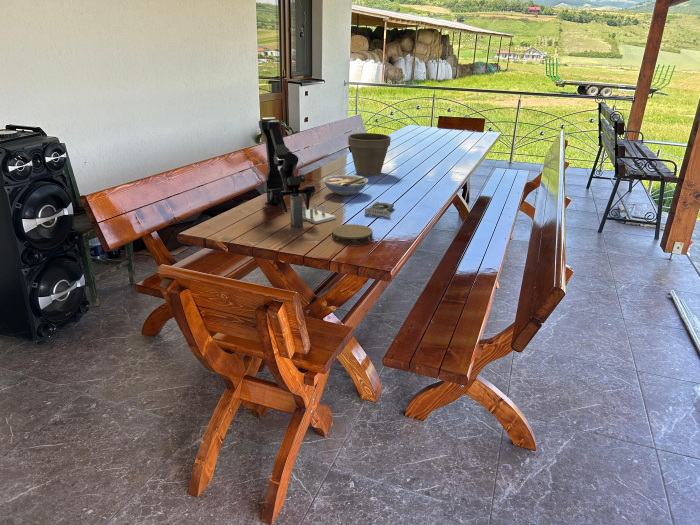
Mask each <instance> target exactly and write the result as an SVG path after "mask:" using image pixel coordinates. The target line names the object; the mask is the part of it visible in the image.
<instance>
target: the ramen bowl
mask: <svg viewBox="0 0 700 525" xmlns="http://www.w3.org/2000/svg"><path fill="white" fill-rule="evenodd" d="M369 177H370V176H367V175H365V176H362V175H356V174H355V175H354V174H335V175H329V176H326V177H323V183H324V185H325V186H326V188H327V189H328V191H329V190H330V191H331V192H333V193H335V194H337V195H339V196H343V195H344V196H347V197H348V196H352V195H354V194H357V193H359V192H361V191H363V190H364V188H365V187H366V185H367V184H368V182H369V179H368V178H369Z"/></svg>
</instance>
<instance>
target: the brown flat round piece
mask: <svg viewBox="0 0 700 525" xmlns="http://www.w3.org/2000/svg"><path fill="white" fill-rule="evenodd" d="M331 238H333V239H334V240H333V239H332V240H333V241H335V242H337V243H340V242H341V243H340V244H344V243H346V245H360V244H359V243H361V244H365V242H366V243H368V242H370V241H372V239H373V228H371V227H369V226H366V225H363V224H354V223H352V224H351V223H350V224H340V225H338V226H335V227H333V228H332V229H331Z"/></svg>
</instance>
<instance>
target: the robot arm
mask: <svg viewBox="0 0 700 525" xmlns="http://www.w3.org/2000/svg"><path fill="white" fill-rule="evenodd" d="M258 128H259V129H260V133H261V135H262V136H263V138H264V140H265V142H264V143H265V149H266V150H265V151H266V160H267V169H268V170H267V173H266V175H265V180H264V183H263V191H264V192H265V193H266V200H267V201H266V202H264V204H265V205H268V206H274V207H277V206H279V207H280V208H282V210H283V211H284V212H285V213H288V208H287V204H286V202H285V199H284V197H286V196H290V194H293V193H299V194H300V195H302V197H303V200H304V205H305V206H306V210H309V209H310V200H311V199H312V198H313V197H314V195H315V193H316V191H317V189H316V186H315V185H313V184H312V185H311V184H310V185H305V186H304V187H303V189H300V188H301V185H302V184H303V183H304V182H305V183H306V179H305V177H306V176H305V175H304V174H301V173H300V174H299V175H296V174H295V171H296V168H297V167H298V164H299V157H298V156H297V155H296V154H295V153H293V152H292V151H291V150H290V149H289V148H288V147H287V146H286V143H285V140H284V137H283V133H282V131H281V122H280V120H279V119H276V117H261V119H260V120H258ZM279 167H280V168H279Z"/></svg>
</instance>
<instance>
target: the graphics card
mask: <svg viewBox="0 0 700 525" xmlns="http://www.w3.org/2000/svg"><path fill="white" fill-rule="evenodd" d="M394 206H395V204H394V203H388V202H379V201H376V202H374V203H373V204H372V205H370V206H369V207H368V208H367V207H366V208H364V216H367V215H370V216H369V217H372V216H378V217H377V218H381V217H387V218H386V219H391V216H390V215H391V214H392V213H391V212H390V211H392V210H393V209H394Z"/></svg>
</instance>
